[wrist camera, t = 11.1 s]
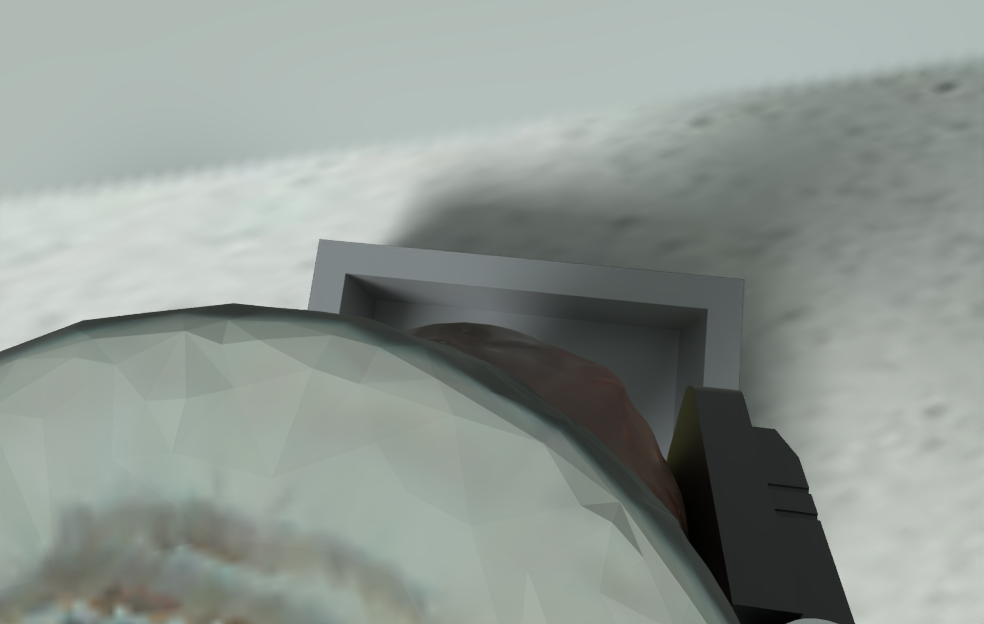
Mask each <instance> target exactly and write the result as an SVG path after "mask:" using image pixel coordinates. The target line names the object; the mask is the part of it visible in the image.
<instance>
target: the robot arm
mask: <svg viewBox="0 0 984 624" xmlns="http://www.w3.org/2000/svg"><path fill="white" fill-rule="evenodd" d="M667 462H668V464H669V467H670V471H671V473H672V474H673V476H674V477H675V480H676V483H677V486H678V487H679V489H680V491H681V494H682V498H683V502H684V506H685V509H686V515H687V523H688V533H689V542H690V544H691V545H692V547H693V548H694V549H695V551H696V552H697V553H698V555H699V556H700V558H701V559H702V560H703V562H704V563H705V564H706V566H707V567H708V569H709V570H710V572H711V573H712V575H713V577H714V578H715V580H716V582H717V583H718V585H719V587H720V588H721V590H722V592H723V593H724V595H725V597H726V598H727V600H728V602H729V603H730V605H731V607H732V608H733V610H734V612H735V614H736V616H737V618H738V620H739V623H740V624H855V622H854V620H853V617H852V614H851V611H850V608H849V605H848V602H847V599H846V596H845V593H844V590H843V587H842V584H841V581H840V578H839V575H838V572H837V569H836V566H835V563H834V560H833V557H832V554H831V552H830V549H829V546H828V543H827V540H826V537H825V534H824V531H823V528H822V525H821V522H820V521H818V520H817V515H818V513H817V510H816V507H815V504H814V501H813V498H812V495H811V494H809V486H808V484H807V481H806V478H805V475H804V472H803V469H802V466H801V463H800V460H799V457H798V456H797V455H796V454H795V452H794V451H793V450H792V449H791V448H790V447H789V445H788V444H787V443H786V442H785V441H784V439H783V438H782V437H781V436H780V435H779V433H778V432H777V431H776V430H775V429H768V428H759V427H752V425H751V422H750V418H749V414H748V411H747V407H746V403H745V400H744V397H743V394H742V392H741V391H739V390H732V389H723V388H714V387H705V386H696V385H688V386H687V388H686V390H685V393H684V396H683V400H682V403H681V407H680V411H679V415H678V418H677V422H676V426H675V430H674V433H673V437H672V441H671V445H670V448H669V452H668V456H667Z"/></svg>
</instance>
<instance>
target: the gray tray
mask: <svg viewBox="0 0 984 624" xmlns="http://www.w3.org/2000/svg"><path fill="white" fill-rule="evenodd" d="M743 295H744V279H735V278H725V277H714V276H704V275H693V274H682V273H672V272H661V271H651V270H640V269H630V268H619V267H608V266H598V265H587V264H577V263H566V262H555V261H545V260H534V259H524V258H513V257H503V256H492V255H481V254H471V253H460V252H450V251H439V250H428V249H418V248H407V247H397V246H386V245H376V244H365V243H354V242H344V241H333V240H323V239H319V245H318V251H317V257H316V263H315V269H314V275H313V281H312V287H311V293H310V298H309V304H308V310H311V311H321V312H328V313H336V314H343V315H350V316H357V317H364V318H369V319H372V320H374V321H377V322H380V323H382V324H385V325H388V326H392V327H394V328H396V329H398V330H400V331H405V330H408V329H412V328H417V327H422V326H426V325H431V324H440V323H458V322H468V323H479V324H490V325H495V326H500V327H504V328H509V329H512V330H515V331H518V332H522V333H525V334H528V335H530V336H533V337H536V338H538V339H541V340H543V341H545V342H547V343H549V344H552V345H554V346H556V347H559V348H561V349H564V350H566V351H568V352H571V353H573V354H576V355H578V356H581V357H583V358H586V359H588V360H591V361H593V362H596V363H598V364H601V365H602V366H604V367H606V368H607V369H608V370H610V371H611V372H612V373H613V374H615V375H616V376H617V377H618V378H619V379H620V380H621V382H622V383H623V384H624V385H625V387H626V391H627V394H628V396H629V398H630V400H631V402H632V403H633V405H634V406H635V408H636V409H637V411H638V412H639V413H640V414H641V415H642V416H643V418H644V419H645V420H646V421H647V423H648V424H649V426H650V428H651V429H652V431H653V433H654V435H655V438H656V441H657V443H658V446H659V448H660V451H661V453H662V456H663V457H664V458H665V460H666V461H667V456H668V452H669V448H670V445H671V441H672V437H673V433H674V430H675V426H676V422H677V418H678V415H679V411H680V407H681V403H682V400H683V396H684V393H685V390H686V388H687V386H688V385H696V386H705V387H714V388H723V389H732V390H739V374H740V354H741V335H742V315H743Z"/></svg>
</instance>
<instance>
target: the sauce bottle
mask: <svg viewBox="0 0 984 624" xmlns="http://www.w3.org/2000/svg"><path fill="white" fill-rule="evenodd" d="M0 624H740V623H739V620H738V618H737V616H736V614H735V612H734V610H733V608H732V607H731V605H730V603H729V602H728V600H727V598H726V597H725V595H724V593H723V592H722V590H721V588H720V587H719V585H718V583H717V582H716V580H715V578H714V577H713V575H712V573H711V572H710V570H709V569H708V567H707V566H706V564H705V563H704V562H703V560H702V559H701V558H700V556H699V555H698V553H697V552H696V551H695V549H694V548H693V547H692V545H691V544H690V542H689V533H688V523H687V515H686V509H685V506H684V502H683V498H682V494H681V491H680V489H679V487H678V486H677V483H676V480H675V477H674V476H673V474H672V473H671V471H670V467H669V464H668V462H667V461H666V460H665V458H664V457H663V456H662V453H661V451H660V448H659V446H658V443H657V441H656V438H655V435H654V433H653V431H652V429H651V428H650V426H649V424H648V423H647V421H646V420H645V419H644V418H643V416H642V415H641V414H640V413H639V412H638V411H637V409H636V408H635V406H634V405H633V403H632V402H631V400H630V398H629V396H628V394H627V391H626V387H625V385H624V384H623V383H622V382H621V380H620V379H619V378H618V377H617V376H616V375H615V374H613V373H612V372H611V371H610V370H608V369H607V368H606V367H604V366H602V365H601V364H598V363H596V362H593V361H591V360H588V359H586V358H583V357H581V356H578V355H576V354H573V353H571V352H568V351H566V350H564V349H561V348H559V347H556V346H554V345H552V344H549V343H547V342H545V341H543V340H541V339H538V338H536V337H533V336H530V335H528V334H525V333H522V332H518V331H515V330H512V329H509V328H504V327H500V326H495V325H490V324H479V323H468V322H458V323H440V324H431V325H426V326H422V327H417V328H412V329H408V330H405V331H400V330H398V329H396V328H394V327H392V326H388V325H385V324H382V323H380V322H377V321H374V320H372V319H369V318H364V317H357V316H350V315H343V314H336V313H328V312H321V311H311V310H298V309H286V308H273V307H263V306H254V305H244V304H235V303H233V304H224V305H214V306H205V307H196V308H187V309H177V310H168V311H159V312H150V313H141V314H133V315H124V316H116V317H108V318H100V319H92V320H83V321H80V322H78V323H75V324H72V325H70V326H67V327H65V328H62V329H59V330H57V331H54V332H51V333H49V334H46V335H43V336H41V337H38V338H35V339H33V340H30V341H27V342H25V343H22V344H19V345H17V346H14V347H11V348H9V349H6V350H3V351H1V352H0Z"/></svg>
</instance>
